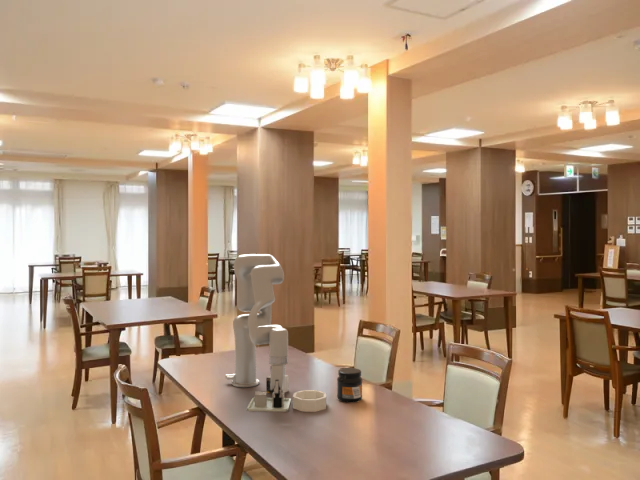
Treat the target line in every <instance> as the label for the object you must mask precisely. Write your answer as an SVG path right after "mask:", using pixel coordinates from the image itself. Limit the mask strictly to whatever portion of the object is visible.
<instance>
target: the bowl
mask: <svg viewBox="0 0 640 480" xmlns="http://www.w3.org/2000/svg"><path fill="white" fill-rule="evenodd" d="M292 409H295V410H296V411H297V410H298V411H300V412H303V413H304V412H305V413H306V412H311V413H313V412H315V413H316V412H319V411H323V410H326V409H327V393H326V392H323V391H320V390H318V389H317V390H316V389H315V390H313V389H310V390H309V389H302V390H300V391H299V390H298V391H296V392H295V391H294V392H293V395H292Z"/></svg>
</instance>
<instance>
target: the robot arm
mask: <svg viewBox="0 0 640 480" xmlns="http://www.w3.org/2000/svg"><path fill="white" fill-rule="evenodd" d="M233 264H234V265H233V266H234V267H233V268H234V269H233V270H234V273H235V276H236V306H237V310H239V311H240V312H242V313H243V312H244V314H239V315H237V316H235V317H234V319H233V320H232V329H233V334H234V373H232V374H231V373H230V374H228V373H226V374H225V379H226V380H232V381H231V385H232V386H234V387H235V388H236V387H237V388H252V387H255V386H256V387H257V386H258V385H259V384H260V380H259V379H258V378H257V346H259V345H268V365H270V375H271V383H270V389H271V390H272V389H273V388H274V408H281V407H282V397H281V392H283V387H284V383H285V375H286V365H288V364H289V331H288V329H287V328H284V327H283V326H282V324H281V325H280V324H272V318H273V317H272V315H273V314H272V310H273V303H275V301H276V296H275V292H274V285H281V284H282V283H283V282H284V280H285V272H284V269H283V267H282V265H281V263H280V262H279V261H278V260H277V259H276V257H275V256H273V255H272V254H269V253H257V254H256V253H249V254H248V253H247V254H240V255H237V256H236V258H235V259H234V262H233ZM245 312H246V313H245ZM248 312H249V313H248ZM279 392H280V393H279Z"/></svg>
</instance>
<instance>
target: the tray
mask: <svg viewBox="0 0 640 480" xmlns="http://www.w3.org/2000/svg"><path fill="white" fill-rule="evenodd" d="M291 403H292V397H284V407H281V408H274V407H272V397H267V405H266V407H255V397H252V398H251V400H250V401H249V403H248V405H247V407H246V412H281V413H282V412H284V413H285V412H289V409H290V405H291Z"/></svg>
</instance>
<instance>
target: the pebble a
mask: <svg viewBox="0 0 640 480" xmlns="http://www.w3.org/2000/svg"><path fill="white" fill-rule="evenodd" d="M279 393H280V392H279ZM281 397H282V407H284V398H285V393H284V392H281ZM271 398H272V407H274V392H273V394H272V393H271Z"/></svg>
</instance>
